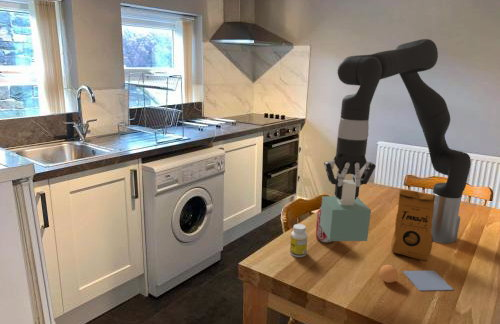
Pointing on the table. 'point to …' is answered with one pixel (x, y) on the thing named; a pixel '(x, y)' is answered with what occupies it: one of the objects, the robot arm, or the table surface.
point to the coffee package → (414, 225)
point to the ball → (388, 273)
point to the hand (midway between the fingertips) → (346, 198)
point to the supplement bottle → (298, 241)
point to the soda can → (320, 230)
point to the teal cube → (345, 215)
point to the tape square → (427, 280)
